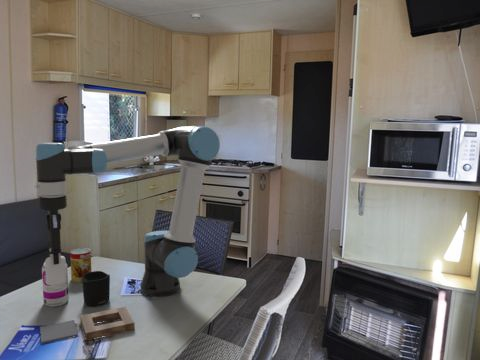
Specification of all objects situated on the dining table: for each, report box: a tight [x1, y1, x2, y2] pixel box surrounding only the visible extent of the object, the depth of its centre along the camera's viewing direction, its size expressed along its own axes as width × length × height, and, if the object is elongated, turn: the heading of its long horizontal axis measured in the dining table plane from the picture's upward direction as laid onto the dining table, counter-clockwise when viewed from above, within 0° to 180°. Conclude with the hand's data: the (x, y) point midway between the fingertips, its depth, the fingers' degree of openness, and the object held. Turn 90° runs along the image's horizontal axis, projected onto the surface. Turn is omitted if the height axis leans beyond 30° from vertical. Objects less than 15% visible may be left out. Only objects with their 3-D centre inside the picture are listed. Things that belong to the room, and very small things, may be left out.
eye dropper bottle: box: [44, 249, 67, 285], centre depth 121 cm, size 4×6×12 cm
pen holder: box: [81, 270, 111, 308], centre depth 145 cm, size 9×9×10 cm
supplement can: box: [41, 261, 70, 308], centre depth 144 cm, size 8×8×15 cm
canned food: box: [69, 247, 92, 283], centre depth 167 cm, size 8×8×12 cm
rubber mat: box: [39, 319, 79, 345], centre depth 124 cm, size 10×10×1 cm
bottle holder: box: [80, 306, 136, 342], centre depth 128 cm, size 14×12×2 cm
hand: (56, 271), depth 122 cm, fingers closed on eye dropper bottle, 3 cm apart
